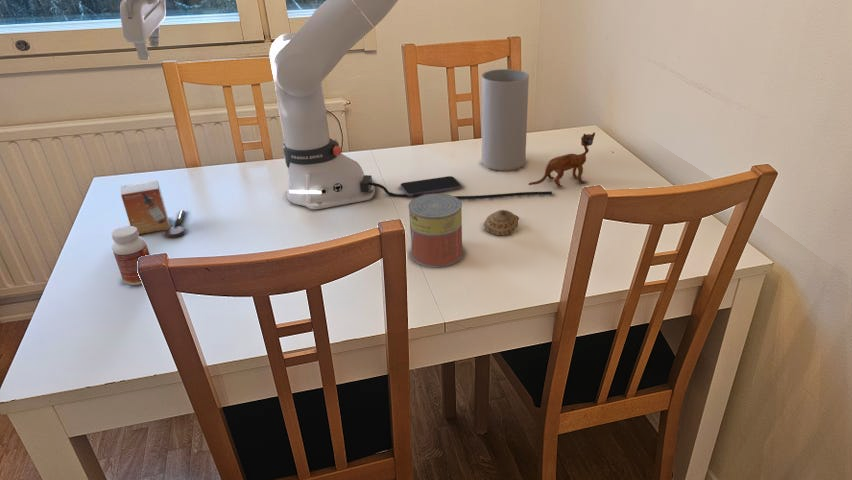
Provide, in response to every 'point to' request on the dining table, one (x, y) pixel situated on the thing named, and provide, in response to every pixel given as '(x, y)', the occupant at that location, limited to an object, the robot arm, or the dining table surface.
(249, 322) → the dining table surface
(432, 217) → the canned food
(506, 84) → the cylinder vase
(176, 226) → the long handled flat disc
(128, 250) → the pill bottle
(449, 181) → the smartphone
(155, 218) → the small box
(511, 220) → the seashell
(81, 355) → the dining table surface
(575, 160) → the cat figurine
